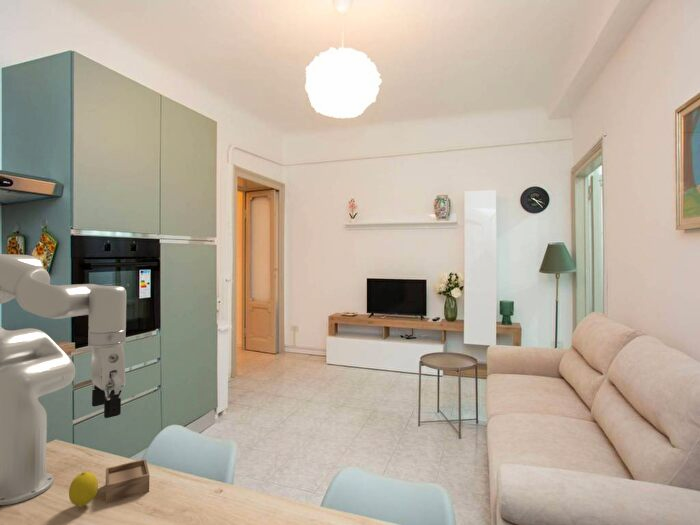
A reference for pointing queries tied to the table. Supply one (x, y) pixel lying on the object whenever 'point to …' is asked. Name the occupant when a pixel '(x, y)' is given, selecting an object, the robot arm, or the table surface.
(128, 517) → the table surface
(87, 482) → the lemon
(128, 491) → the walnut tray
